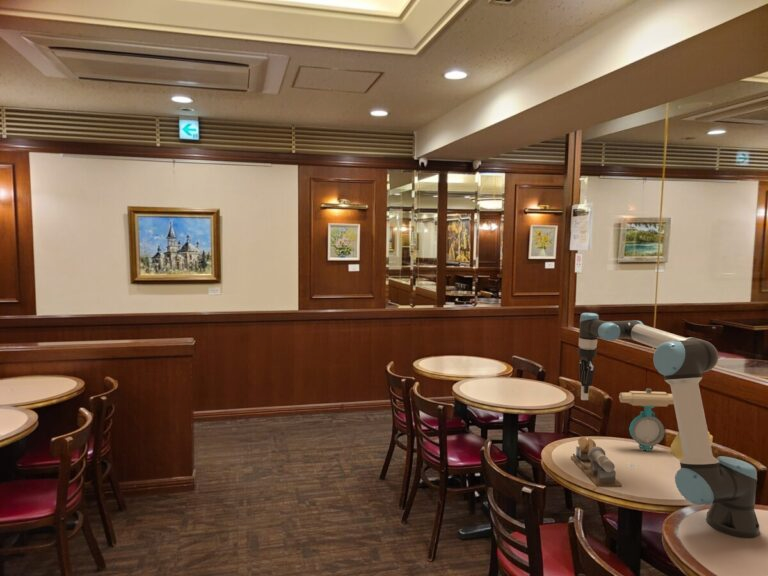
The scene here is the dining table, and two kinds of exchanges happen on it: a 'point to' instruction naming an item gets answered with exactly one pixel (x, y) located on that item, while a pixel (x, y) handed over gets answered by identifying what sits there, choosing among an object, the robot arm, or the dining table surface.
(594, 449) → the pipe jig
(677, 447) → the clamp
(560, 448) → the dining table surface
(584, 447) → the coupling
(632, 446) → the dining table surface
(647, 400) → the butterfly valve
